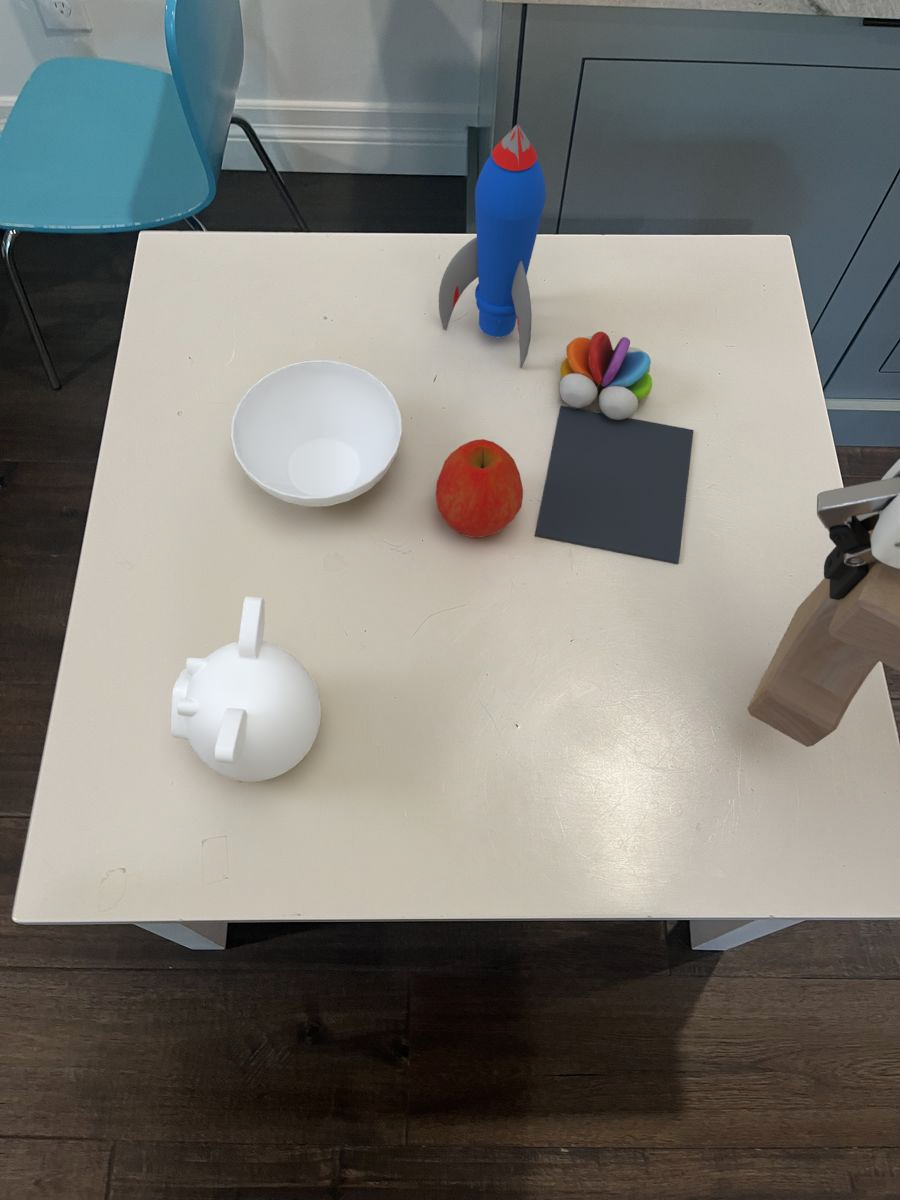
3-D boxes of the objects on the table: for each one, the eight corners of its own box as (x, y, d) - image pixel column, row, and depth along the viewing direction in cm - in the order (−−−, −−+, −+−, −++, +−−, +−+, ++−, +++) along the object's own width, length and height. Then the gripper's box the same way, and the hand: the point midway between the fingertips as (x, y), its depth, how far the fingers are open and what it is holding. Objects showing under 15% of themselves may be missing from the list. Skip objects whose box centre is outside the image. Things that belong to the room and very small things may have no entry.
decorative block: (808, 751, 67) (951, 651, 49) (741, 711, 68) (855, 599, 50) (863, 641, 71) (1012, 511, 53) (798, 605, 72) (922, 466, 54)
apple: (534, 528, 86) (548, 465, 76) (463, 566, 84) (468, 507, 74) (488, 468, 89) (496, 400, 79) (419, 504, 87) (418, 439, 77)
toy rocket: (526, 373, 94) (558, 169, 72) (437, 371, 94) (441, 165, 71) (523, 298, 99) (553, 84, 76) (438, 295, 99) (442, 80, 76)
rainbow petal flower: (570, 350, 96) (581, 298, 89) (656, 376, 94) (673, 325, 88) (546, 405, 92) (556, 355, 85) (635, 433, 90) (652, 384, 84)
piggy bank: (184, 684, 78) (133, 613, 64) (315, 657, 79) (292, 582, 66) (199, 821, 73) (147, 775, 59) (338, 790, 74) (319, 739, 61)
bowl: (212, 460, 88) (196, 417, 82) (338, 380, 93) (332, 333, 87) (308, 567, 83) (299, 530, 77) (436, 477, 88) (437, 435, 82)
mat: (692, 432, 91) (693, 429, 91) (677, 564, 84) (679, 562, 84) (560, 407, 92) (560, 405, 92) (534, 536, 85) (535, 534, 85)
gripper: (893, 450, 39) (756, 617, 55) (1301, 523, 38) (1040, 671, 54) (890, 324, 42) (761, 516, 58) (1266, 388, 41) (1029, 566, 57)
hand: (896, 590), depth 56 cm, fingers closed on decorative block, 7 cm apart
